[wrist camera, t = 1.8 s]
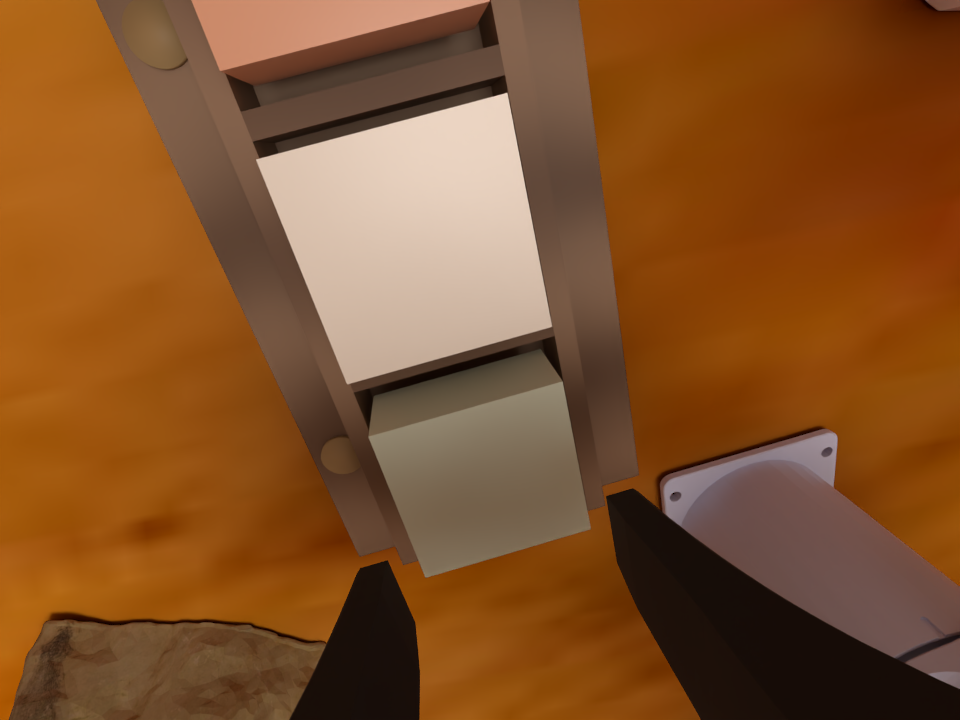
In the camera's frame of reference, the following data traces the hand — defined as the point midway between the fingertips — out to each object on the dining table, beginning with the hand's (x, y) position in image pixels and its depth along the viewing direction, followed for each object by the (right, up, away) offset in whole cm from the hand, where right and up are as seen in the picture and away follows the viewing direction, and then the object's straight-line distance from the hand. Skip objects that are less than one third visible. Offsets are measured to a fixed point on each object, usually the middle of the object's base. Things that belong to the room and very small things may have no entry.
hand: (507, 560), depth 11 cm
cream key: (-2, +8, +2) cm, 8 cm away
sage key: (-1, +2, +4) cm, 5 cm away
